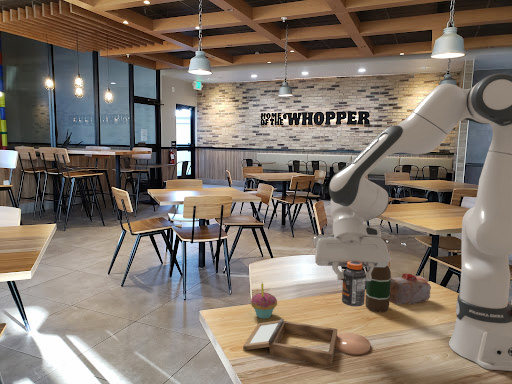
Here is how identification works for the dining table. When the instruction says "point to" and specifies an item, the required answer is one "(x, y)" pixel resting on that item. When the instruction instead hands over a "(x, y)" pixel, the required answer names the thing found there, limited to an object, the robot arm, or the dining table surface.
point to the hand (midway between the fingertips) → (354, 279)
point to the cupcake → (263, 304)
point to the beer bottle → (378, 289)
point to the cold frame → (302, 352)
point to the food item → (409, 289)
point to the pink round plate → (352, 343)
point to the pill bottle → (353, 284)
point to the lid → (260, 335)
